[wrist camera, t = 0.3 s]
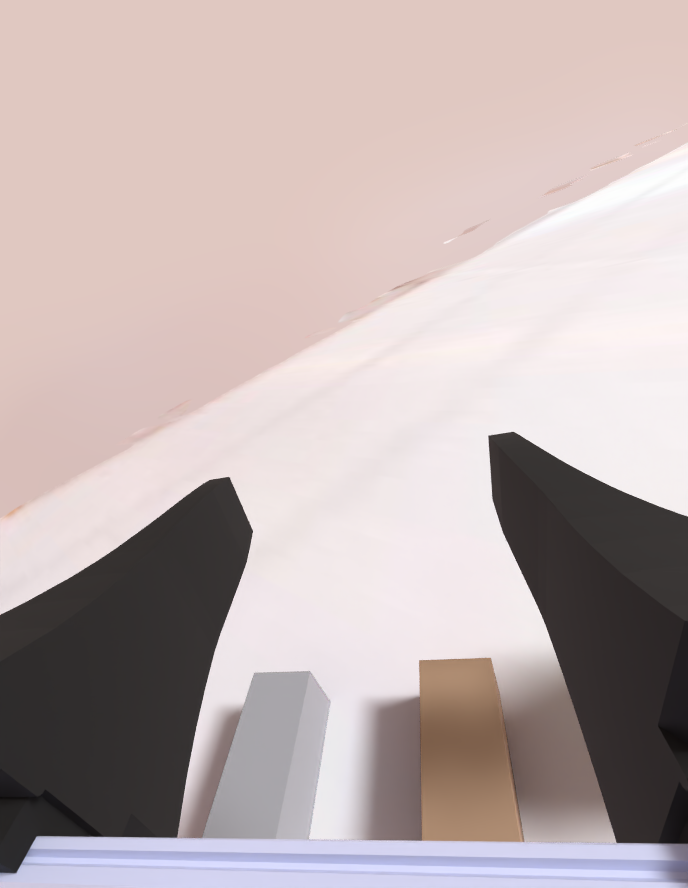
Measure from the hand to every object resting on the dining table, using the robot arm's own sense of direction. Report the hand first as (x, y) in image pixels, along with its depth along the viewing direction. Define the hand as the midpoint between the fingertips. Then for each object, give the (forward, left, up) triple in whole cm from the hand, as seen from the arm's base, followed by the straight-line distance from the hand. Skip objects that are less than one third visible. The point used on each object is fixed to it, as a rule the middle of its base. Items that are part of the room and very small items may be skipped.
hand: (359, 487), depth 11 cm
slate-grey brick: (0, +11, -21) cm, 23 cm away
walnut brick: (0, 0, -21) cm, 21 cm away
